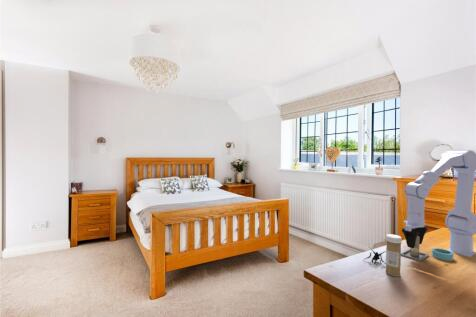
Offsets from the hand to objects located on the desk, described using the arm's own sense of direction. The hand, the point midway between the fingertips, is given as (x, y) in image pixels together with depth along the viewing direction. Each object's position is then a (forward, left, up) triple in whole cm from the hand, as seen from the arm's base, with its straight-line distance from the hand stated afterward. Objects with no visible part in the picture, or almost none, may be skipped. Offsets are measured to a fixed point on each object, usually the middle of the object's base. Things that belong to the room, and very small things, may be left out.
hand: (414, 245), depth 101 cm
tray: (0, 0, -5) cm, 5 cm away
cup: (-8, +7, -5) cm, 12 cm away
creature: (+20, -6, -5) cm, 21 cm away
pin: (0, 0, -4) cm, 4 cm away
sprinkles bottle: (+23, +2, -5) cm, 24 cm away
